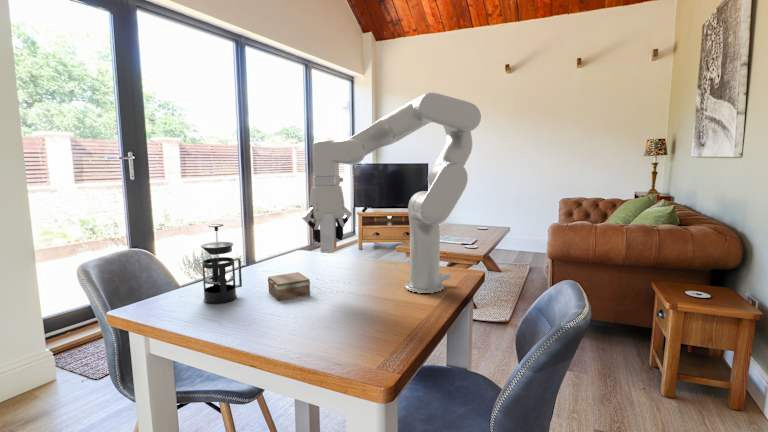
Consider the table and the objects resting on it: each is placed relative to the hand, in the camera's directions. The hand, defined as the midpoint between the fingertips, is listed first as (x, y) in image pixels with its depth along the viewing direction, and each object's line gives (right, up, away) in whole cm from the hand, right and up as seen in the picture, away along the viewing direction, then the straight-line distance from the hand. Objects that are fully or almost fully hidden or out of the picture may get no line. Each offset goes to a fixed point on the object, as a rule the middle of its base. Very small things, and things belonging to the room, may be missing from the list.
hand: (328, 240), depth 130 cm
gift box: (-13, -17, +5) cm, 22 cm away
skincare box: (0, -3, 0) cm, 3 cm away
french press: (-32, -18, 0) cm, 37 cm away
